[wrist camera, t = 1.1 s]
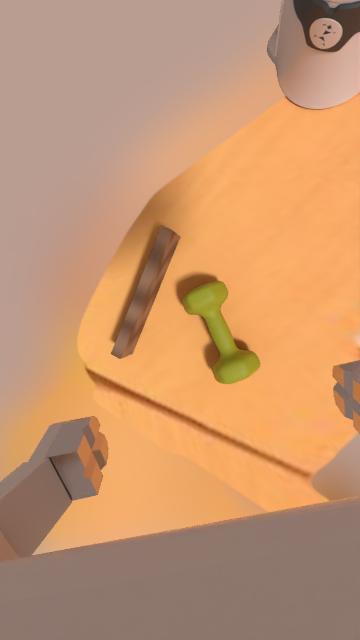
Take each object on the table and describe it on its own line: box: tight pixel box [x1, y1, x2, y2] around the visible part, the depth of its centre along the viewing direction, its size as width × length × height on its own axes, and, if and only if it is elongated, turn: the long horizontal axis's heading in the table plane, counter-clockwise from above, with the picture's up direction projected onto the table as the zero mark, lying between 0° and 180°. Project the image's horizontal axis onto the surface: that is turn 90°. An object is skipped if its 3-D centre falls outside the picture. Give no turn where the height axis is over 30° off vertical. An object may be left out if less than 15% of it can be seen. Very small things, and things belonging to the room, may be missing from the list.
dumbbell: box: [182, 281, 260, 384], centre depth 46 cm, size 16×8×7 cm, turn 24°
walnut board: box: [111, 226, 180, 359], centre depth 50 cm, size 24×2×5 cm, turn 156°
